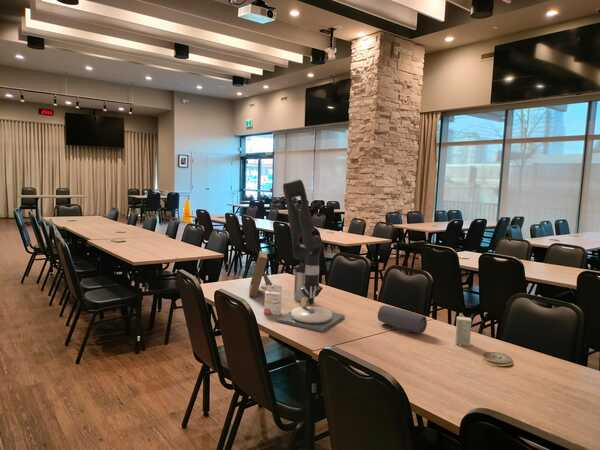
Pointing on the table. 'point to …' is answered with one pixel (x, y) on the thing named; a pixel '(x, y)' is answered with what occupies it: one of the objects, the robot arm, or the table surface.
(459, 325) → the skincare box
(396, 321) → the bluetooth speaker
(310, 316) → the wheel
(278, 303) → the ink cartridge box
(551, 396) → the table surface
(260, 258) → the photo frame
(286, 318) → the base plate
